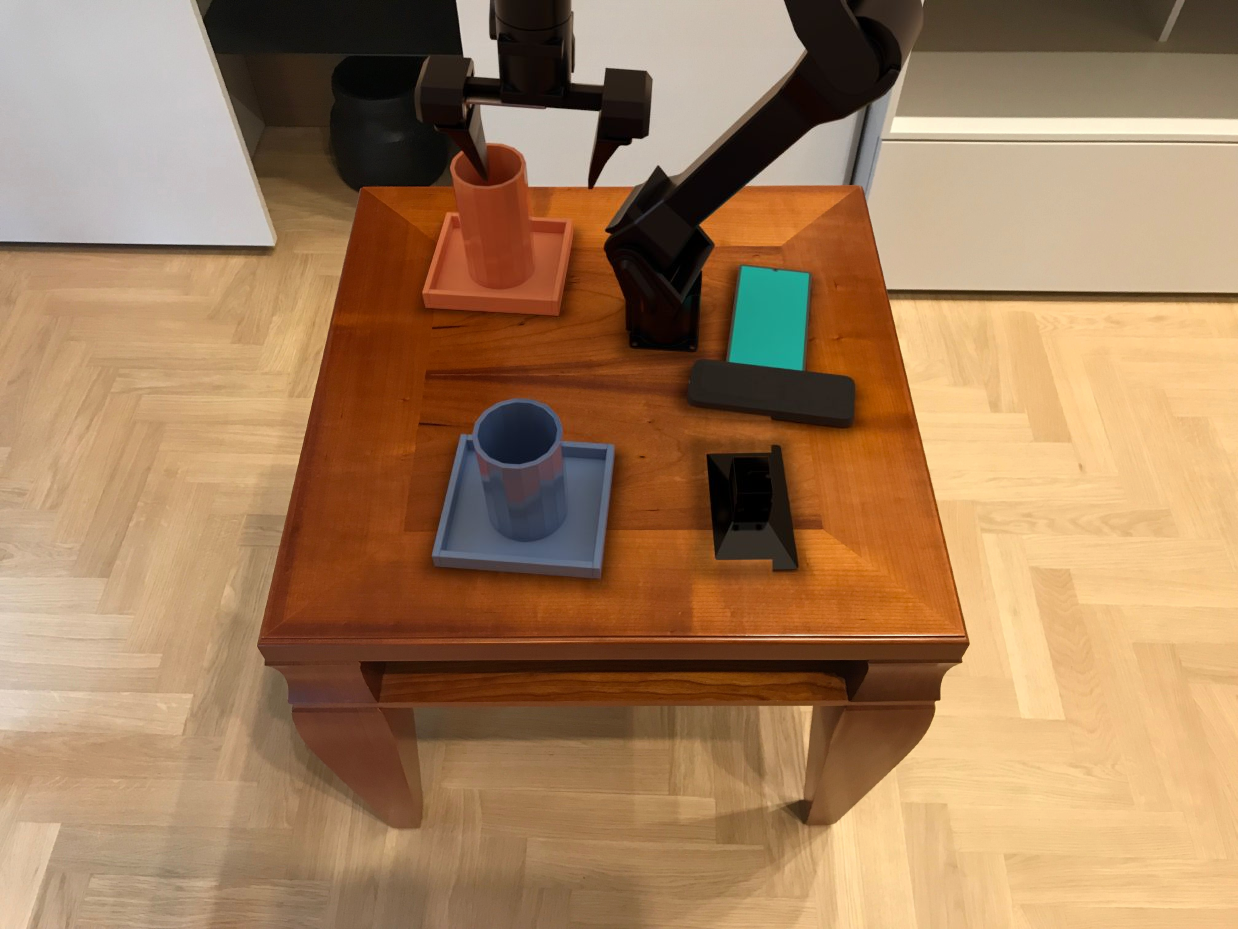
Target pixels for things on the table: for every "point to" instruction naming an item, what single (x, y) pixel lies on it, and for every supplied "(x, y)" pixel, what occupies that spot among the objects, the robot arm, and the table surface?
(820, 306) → the table surface
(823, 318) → the table surface
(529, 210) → the rust cup
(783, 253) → the table surface
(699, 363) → the remote control
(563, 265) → the rust tray
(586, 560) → the blue tray
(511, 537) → the blue cup
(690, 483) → the table surface
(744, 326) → the smartphone
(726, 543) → the black stand
